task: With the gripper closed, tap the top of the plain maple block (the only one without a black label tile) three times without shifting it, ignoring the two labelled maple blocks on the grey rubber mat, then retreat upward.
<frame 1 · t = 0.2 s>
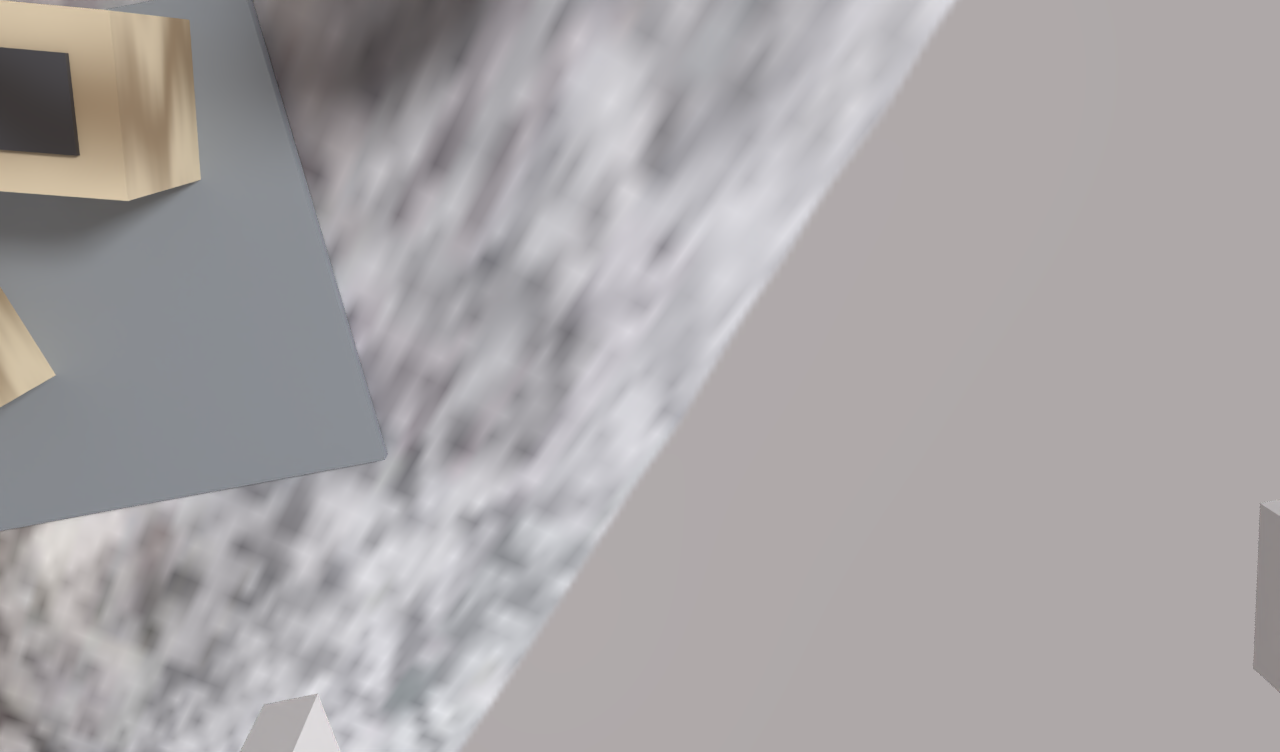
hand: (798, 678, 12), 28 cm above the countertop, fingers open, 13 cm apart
labelled block a: (115, 95, 35), point 1 cm above the countertop, touching mat
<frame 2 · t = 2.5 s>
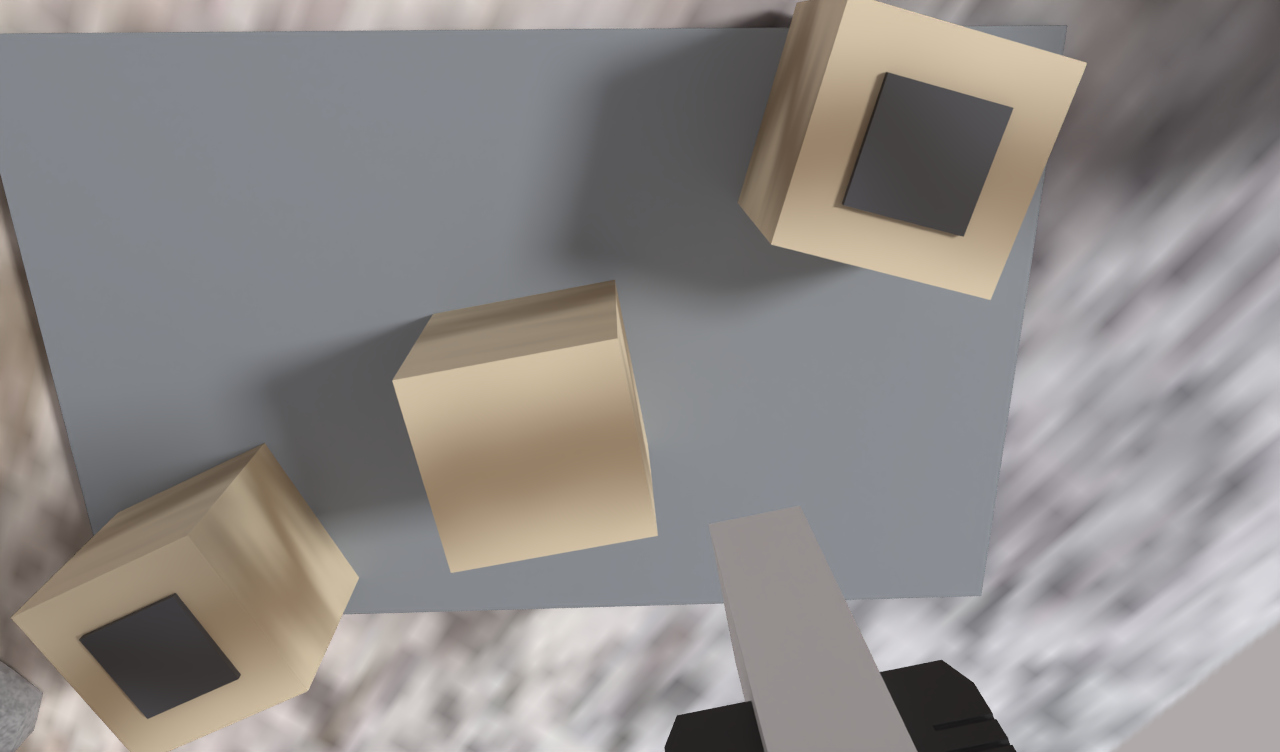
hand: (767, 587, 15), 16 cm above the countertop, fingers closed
plain block: (544, 381, 30), point 1 cm above the countertop, touching mat
labelled block b: (240, 545, 32), point 1 cm above the countertop, touching mat
labelled block a: (859, 131, 27), point 1 cm above the countertop, touching mat
mat: (543, 347, 30), on the countertop
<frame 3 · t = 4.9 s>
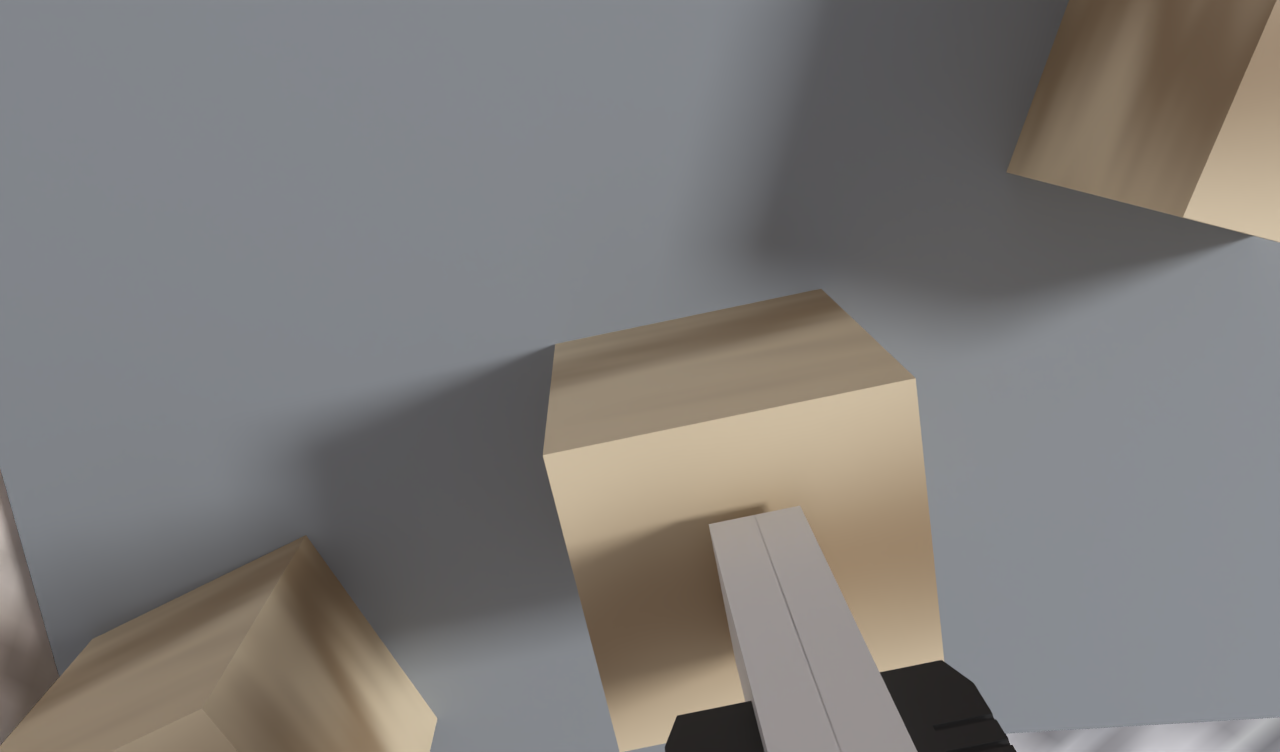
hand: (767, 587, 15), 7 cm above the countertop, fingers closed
plain block: (710, 438, 21), point 1 cm above the countertop, touching mat
labelled block b: (270, 679, 22), point 1 cm above the countertop, touching mat
labelled block a: (1190, 63, 19), point 1 cm above the countertop, touching mat
mat: (707, 389, 21), on the countertop
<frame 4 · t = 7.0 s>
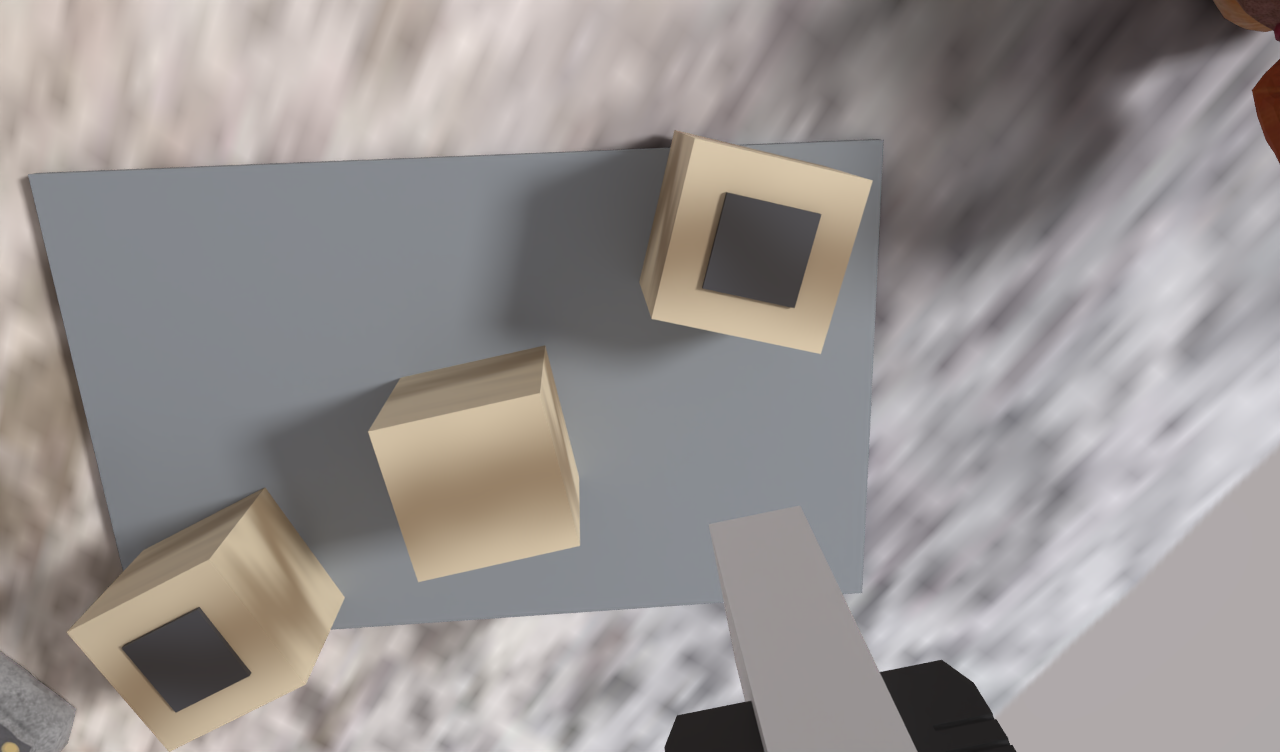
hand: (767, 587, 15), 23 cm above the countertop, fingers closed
plain block: (492, 428, 37), point 1 cm above the countertop, touching mat
labelled block b: (245, 574, 38), point 1 cm above the countertop, touching mat
labelled block a: (730, 224, 35), point 1 cm above the countertop, touching mat
mat: (491, 401, 37), on the countertop
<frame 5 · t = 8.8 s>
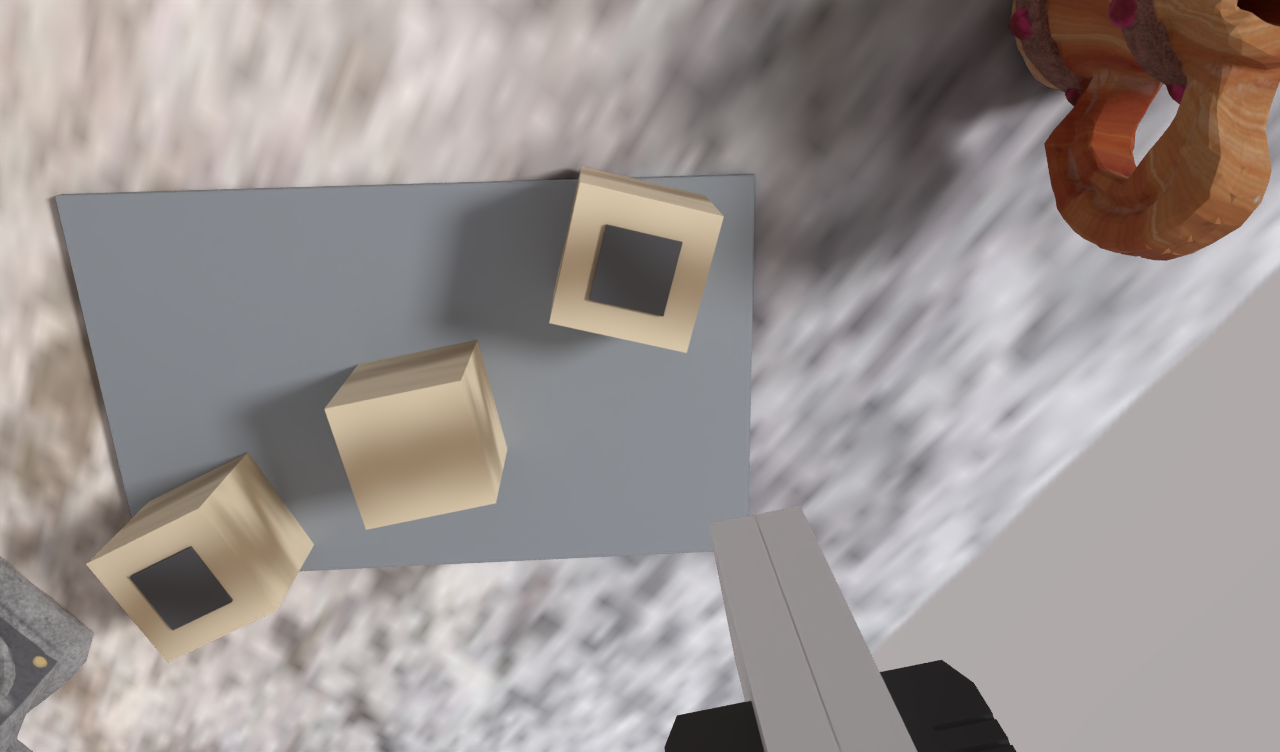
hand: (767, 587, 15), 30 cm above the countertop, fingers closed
plain block: (434, 407, 45), point 1 cm above the countertop, touching mat
labelled block b: (232, 523, 46), point 1 cm above the countertop, touching mat
labelled block a: (629, 242, 43), point 1 cm above the countertop, touching mat
mat: (434, 384, 45), on the countertop
mug: (1052, 55, 42), on the countertop
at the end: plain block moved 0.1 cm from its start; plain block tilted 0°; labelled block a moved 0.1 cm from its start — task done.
